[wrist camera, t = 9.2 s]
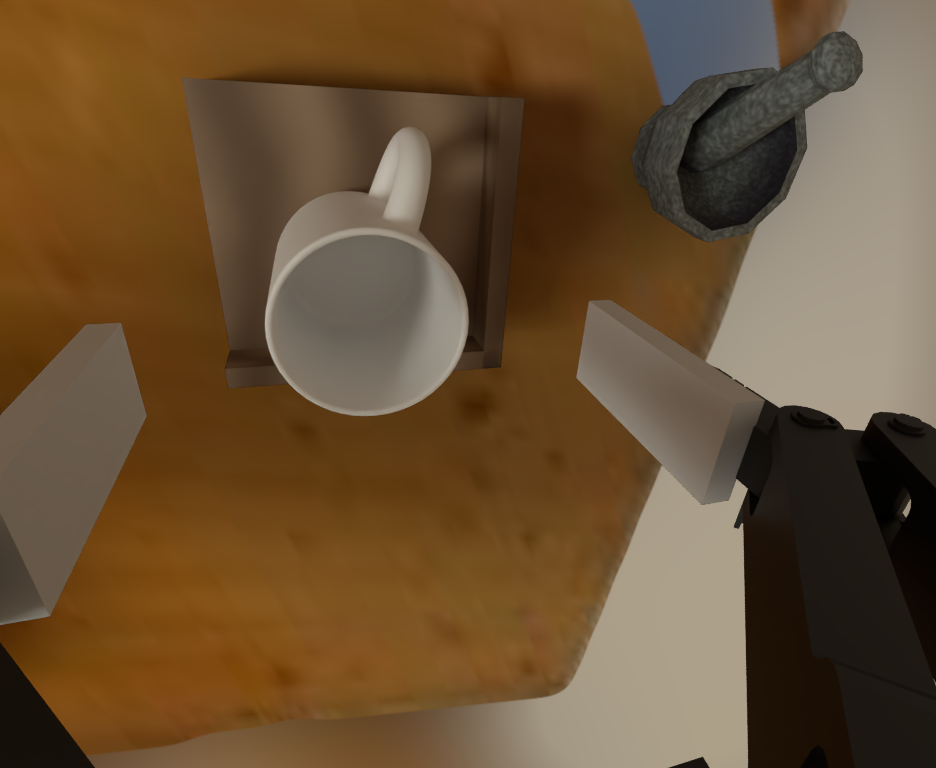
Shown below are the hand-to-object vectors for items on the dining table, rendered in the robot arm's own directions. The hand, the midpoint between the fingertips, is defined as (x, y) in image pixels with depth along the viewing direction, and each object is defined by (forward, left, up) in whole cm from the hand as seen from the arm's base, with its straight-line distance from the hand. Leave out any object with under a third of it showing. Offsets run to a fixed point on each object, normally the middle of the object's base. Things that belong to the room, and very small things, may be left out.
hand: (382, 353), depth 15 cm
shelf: (+1, 0, -22) cm, 22 cm away
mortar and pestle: (+24, +5, -22) cm, 32 cm away
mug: (+1, 0, -17) cm, 17 cm away
